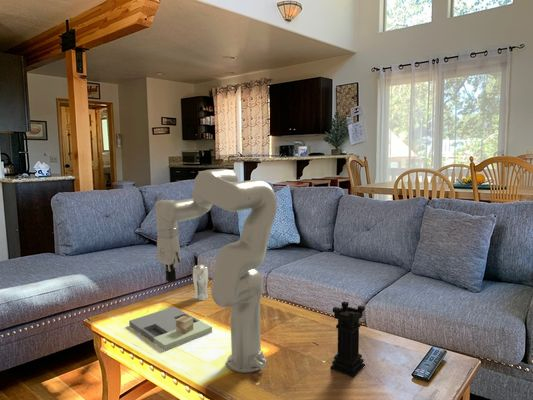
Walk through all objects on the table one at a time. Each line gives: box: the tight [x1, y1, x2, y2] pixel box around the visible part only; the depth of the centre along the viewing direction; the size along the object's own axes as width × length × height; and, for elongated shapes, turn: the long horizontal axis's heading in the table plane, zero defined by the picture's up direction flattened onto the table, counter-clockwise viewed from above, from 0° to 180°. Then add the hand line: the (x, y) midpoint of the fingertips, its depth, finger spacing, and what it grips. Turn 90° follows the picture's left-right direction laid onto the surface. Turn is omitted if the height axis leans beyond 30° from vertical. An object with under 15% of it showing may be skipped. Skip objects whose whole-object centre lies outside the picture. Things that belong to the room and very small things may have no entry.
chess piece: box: [330, 301, 366, 378], centre depth 128 cm, size 8×8×20 cm
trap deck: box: [128, 306, 213, 351], centre depth 158 cm, size 28×20×2 cm
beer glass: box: [192, 264, 209, 301], centre depth 189 cm, size 7×7×15 cm
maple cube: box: [176, 316, 193, 334], centre depth 152 cm, size 4×4×4 cm
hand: (171, 280), depth 154 cm, fingers closed
